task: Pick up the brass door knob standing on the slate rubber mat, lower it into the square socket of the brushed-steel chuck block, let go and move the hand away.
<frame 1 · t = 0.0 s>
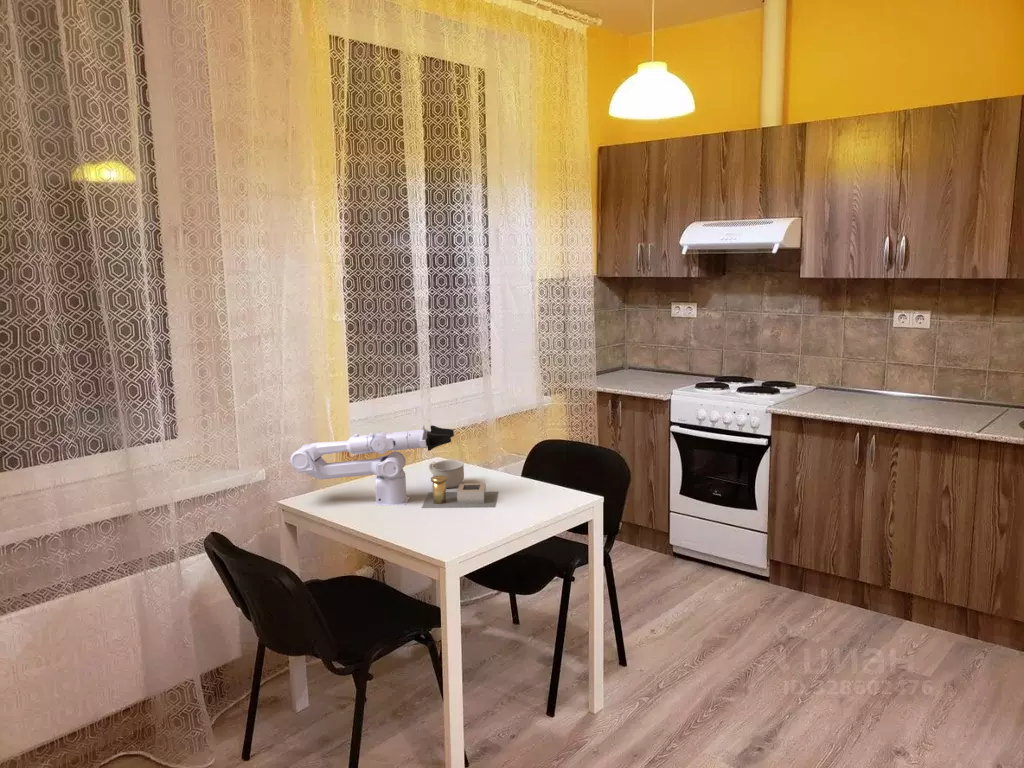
hand: (452, 435, 240), 22 cm above the table, tool horizontal, fingers open, 7 cm apart
chuck block: (471, 499, 244), resting on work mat
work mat: (461, 501, 244), on the table
brass door knob: (439, 502, 242), resting on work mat
teacup: (445, 486, 261), on the table
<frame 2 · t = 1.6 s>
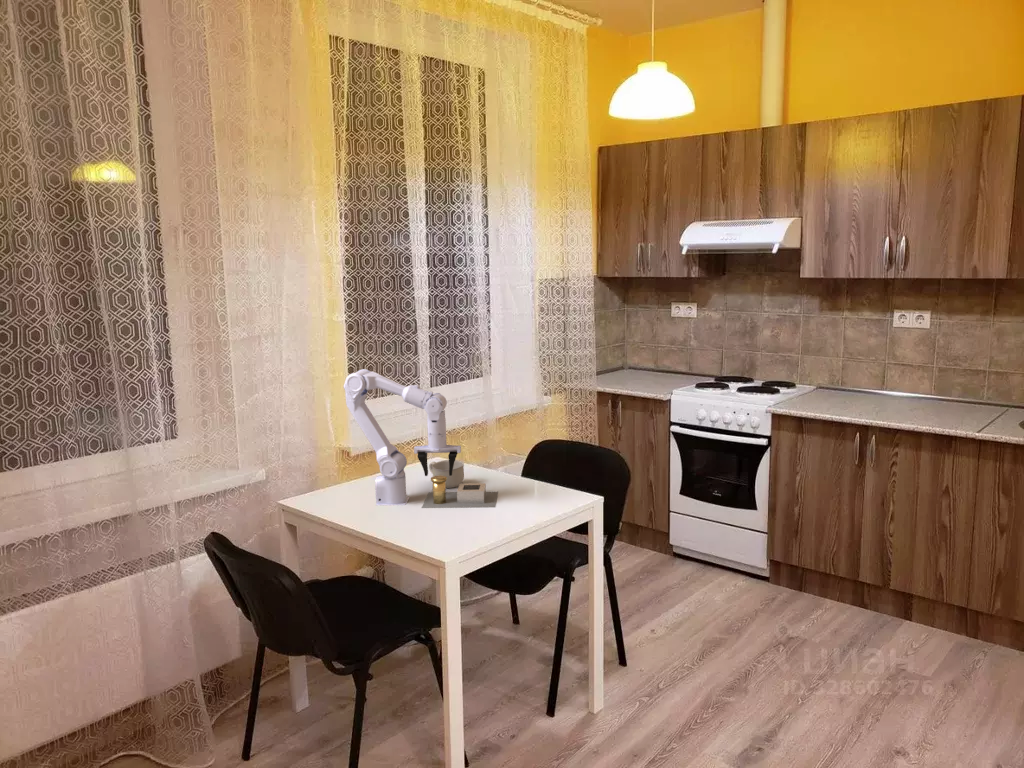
hand: (438, 475, 240), 9 cm above the table, tool pointing down, fingers open, 7 cm apart
nothing on the table moved.
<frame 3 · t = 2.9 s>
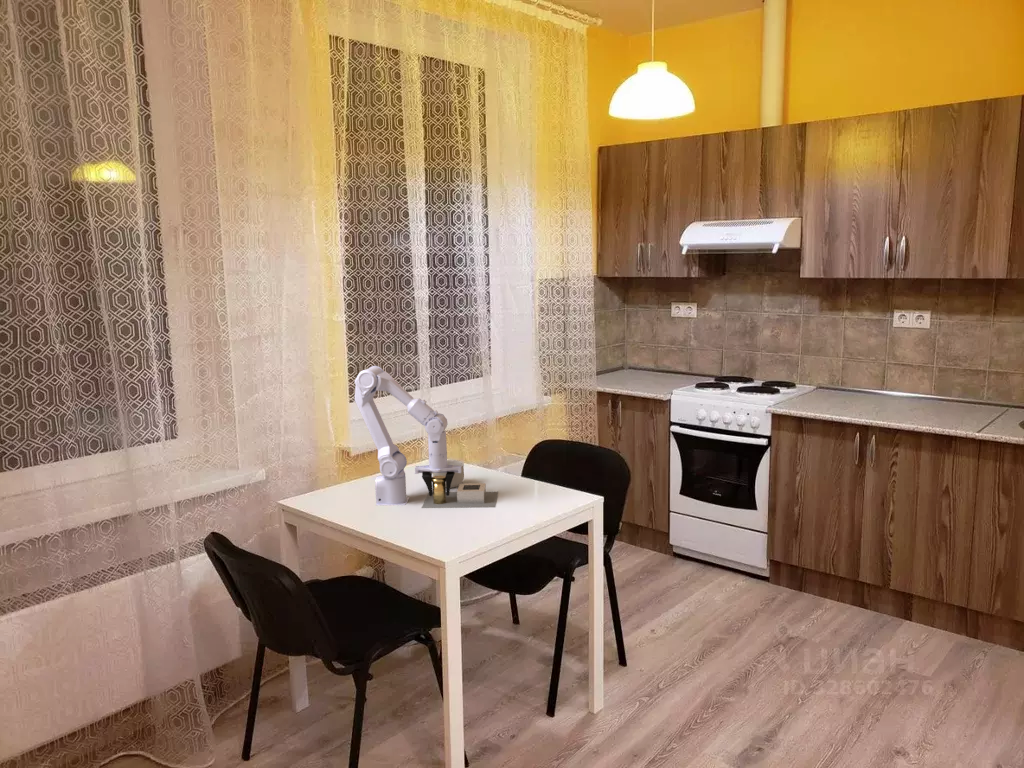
hand: (439, 494, 241), 3 cm above the table, tool pointing down, fingers closed on brass door knob, 5 cm apart
brass door knob: (439, 502, 242), resting on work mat, touching gripper
everything else where it was.
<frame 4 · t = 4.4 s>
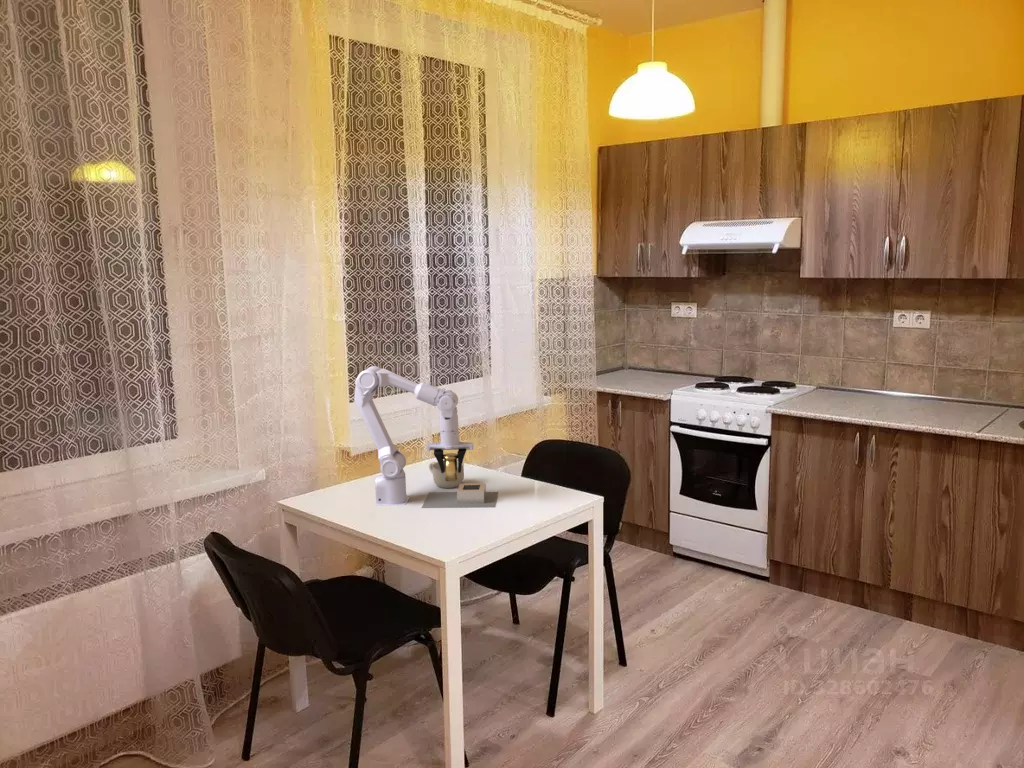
hand: (451, 472, 241), 10 cm above the table, tool pointing down, fingers closed on brass door knob, 5 cm apart
brass door knob: (451, 479, 241), point 8 cm above the table, touching gripper
everything else where it was.
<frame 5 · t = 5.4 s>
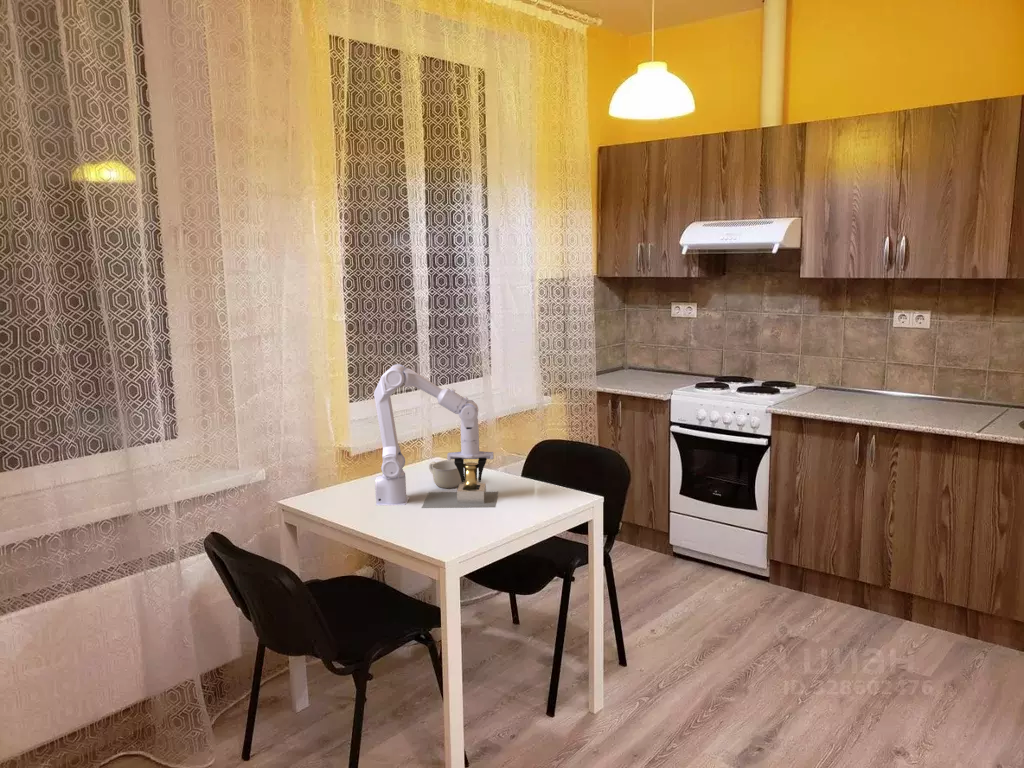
hand: (471, 481, 243), 7 cm above the table, tool pointing down, fingers closed on brass door knob, 5 cm apart
brass door knob: (470, 488, 243), point 4 cm above the table, touching gripper
everything else where it was.
when the fingers open (5 cm above the table, at t = 6.1 s): brass door knob drops 2 cm, resting on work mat.
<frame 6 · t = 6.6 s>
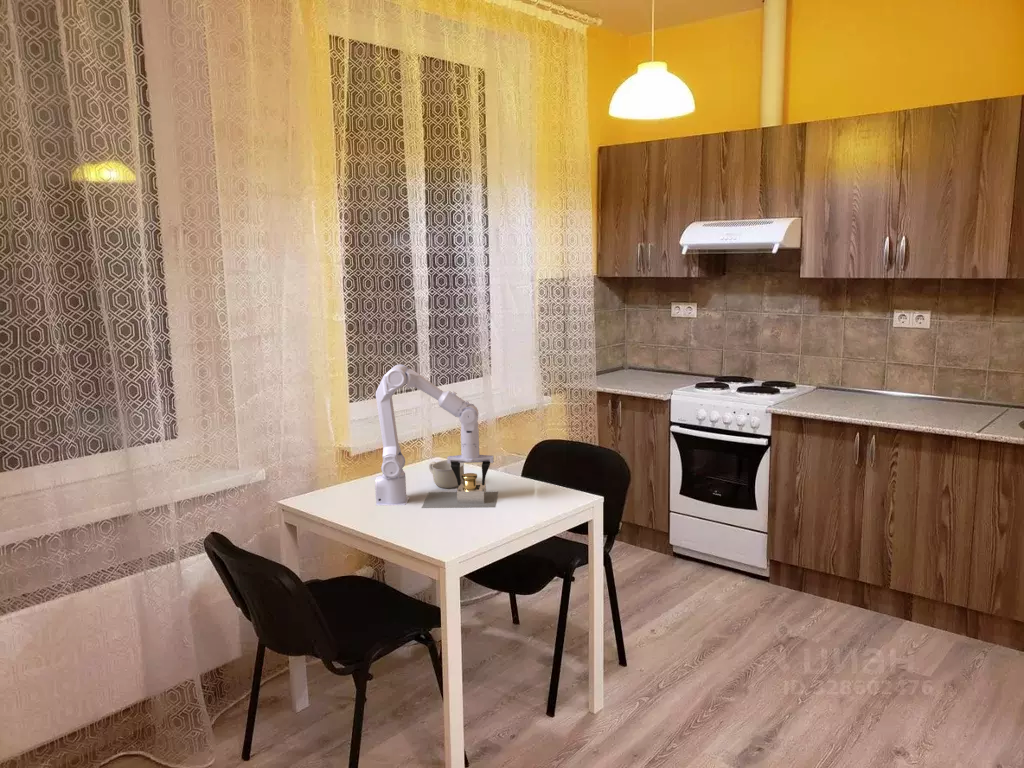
hand: (471, 484, 243), 5 cm above the table, tool pointing down, fingers open, 7 cm apart
brass door knob: (470, 499, 244), resting on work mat
everything else where it was.
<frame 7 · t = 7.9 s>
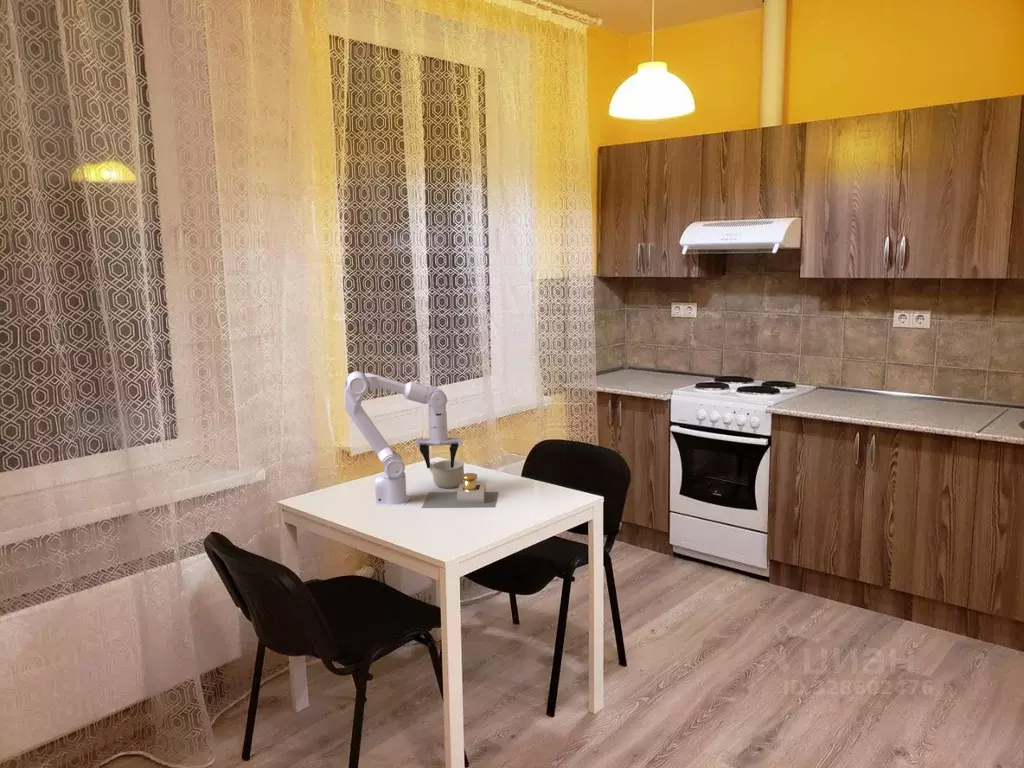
hand: (440, 467, 246), 10 cm above the table, tool pointing down, fingers open, 7 cm apart
nothing on the table moved.
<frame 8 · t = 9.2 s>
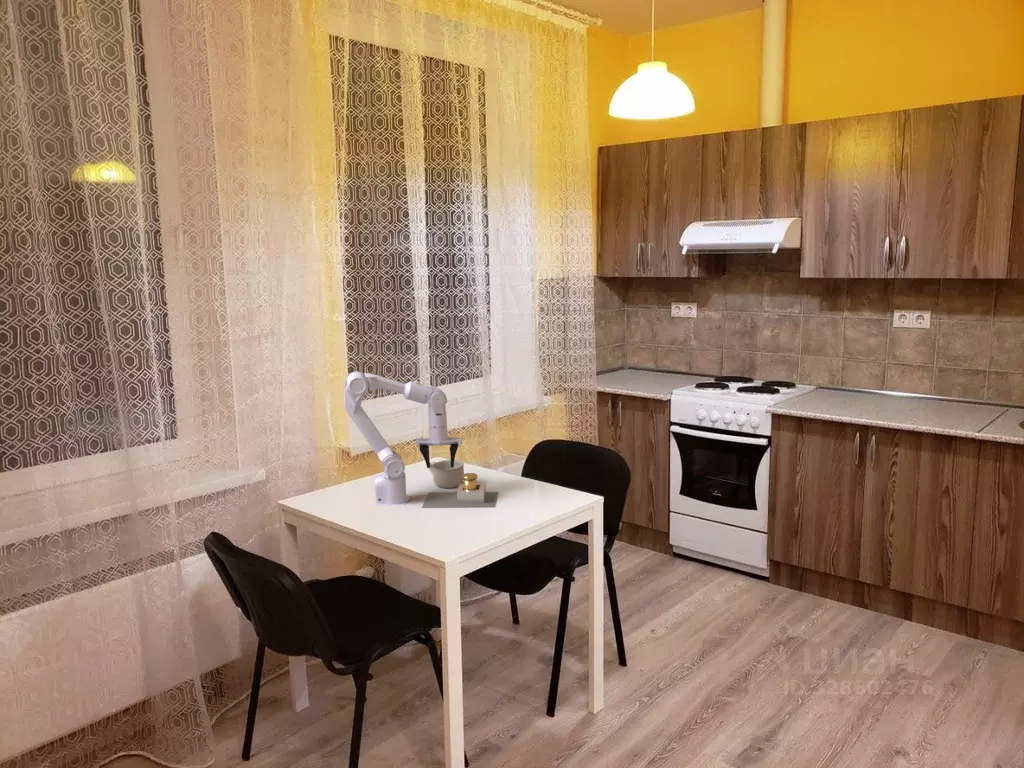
hand: (440, 467, 246), 10 cm above the table, tool pointing down, fingers open, 7 cm apart
nothing on the table moved.
at the end: brass door knob 0.5 cm off-centre on the chuck block, point 0.0 cm above the chuck block's base; brass door knob tilted 1°; the gripper is holding nothing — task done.
